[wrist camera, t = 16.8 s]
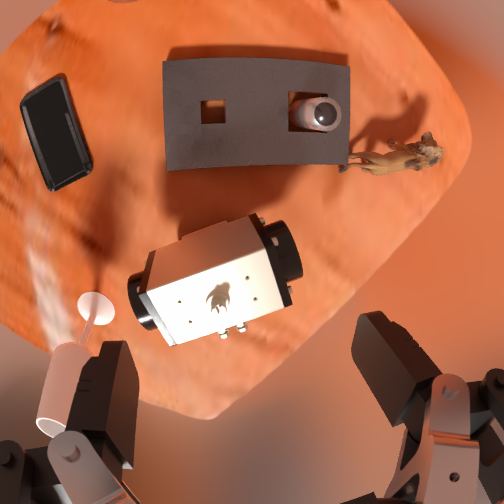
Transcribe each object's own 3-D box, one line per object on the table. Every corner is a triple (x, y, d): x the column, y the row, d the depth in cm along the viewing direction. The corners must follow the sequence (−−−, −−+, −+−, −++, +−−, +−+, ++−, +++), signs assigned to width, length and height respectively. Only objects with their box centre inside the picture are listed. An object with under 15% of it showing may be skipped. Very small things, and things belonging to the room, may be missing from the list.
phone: (49, 194, 35) (17, 101, 29) (52, 192, 36) (21, 101, 30) (94, 171, 36) (61, 73, 29) (96, 170, 37) (64, 74, 30)
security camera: (165, 286, 45) (157, 371, 30) (141, 238, 42) (114, 311, 26) (277, 245, 46) (321, 316, 30) (261, 192, 42) (303, 243, 26)
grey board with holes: (164, 64, 32) (162, 61, 30) (341, 68, 36) (350, 66, 34) (168, 167, 38) (166, 171, 36) (340, 162, 42) (347, 164, 40)
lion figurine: (407, 125, 41) (444, 131, 33) (414, 155, 43) (451, 166, 35) (331, 155, 41) (362, 166, 33) (342, 188, 44) (373, 205, 36)
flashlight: (288, 99, 37) (309, 95, 30) (316, 100, 38) (341, 98, 30) (288, 127, 39) (308, 130, 32) (315, 128, 39) (341, 132, 32)
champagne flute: (119, 323, 47) (93, 447, 25) (85, 326, 46) (47, 443, 25) (107, 289, 44) (64, 413, 22) (71, 293, 43) (17, 409, 22)
